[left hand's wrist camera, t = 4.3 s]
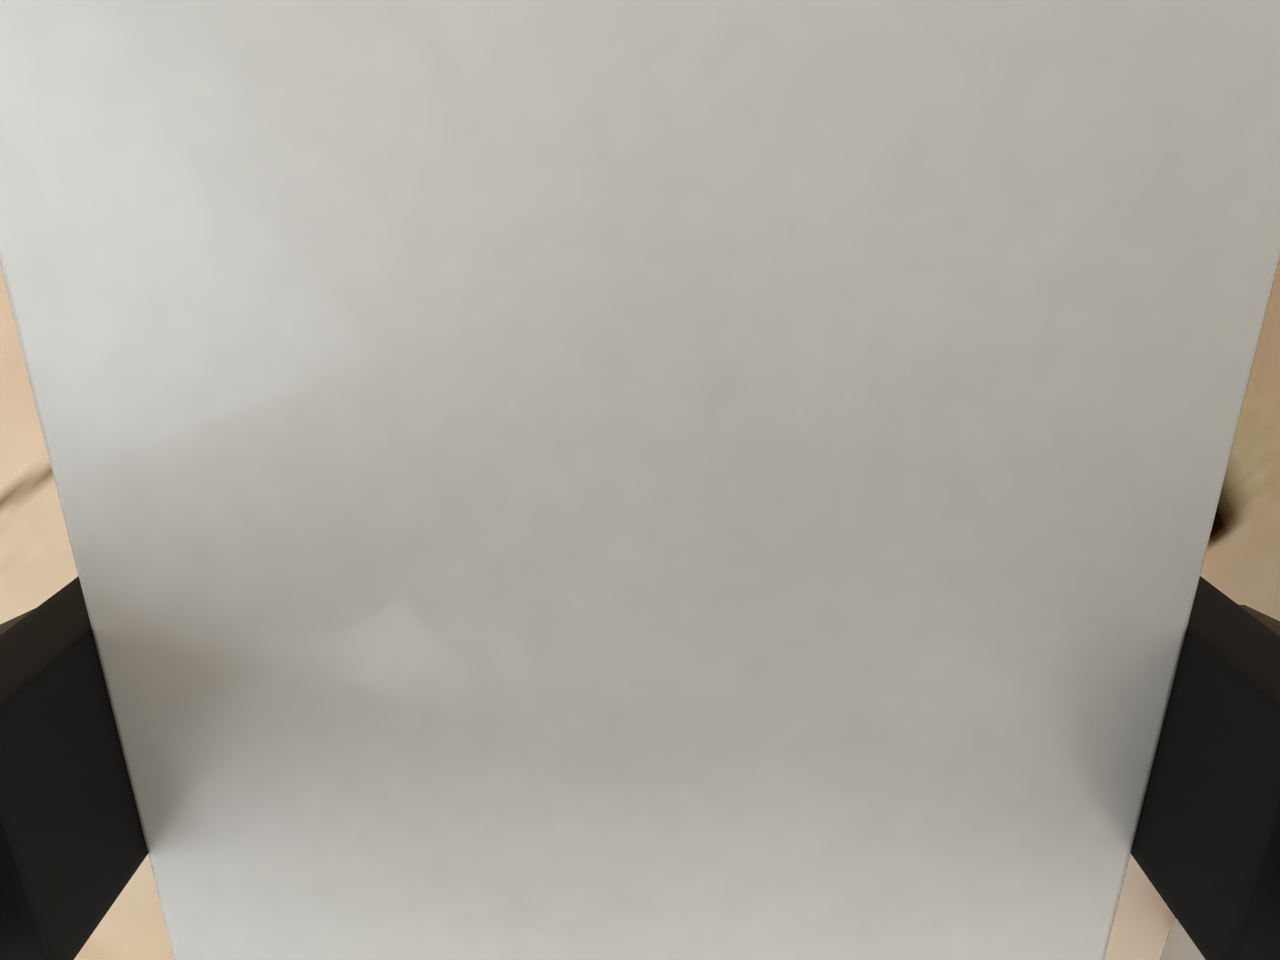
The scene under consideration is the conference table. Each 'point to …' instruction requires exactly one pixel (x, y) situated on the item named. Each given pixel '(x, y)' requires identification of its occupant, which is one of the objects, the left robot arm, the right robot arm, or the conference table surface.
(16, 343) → the conference table surface
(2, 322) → the conference table surface
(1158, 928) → the conference table surface
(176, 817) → the cabinet
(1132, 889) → the conference table surface
